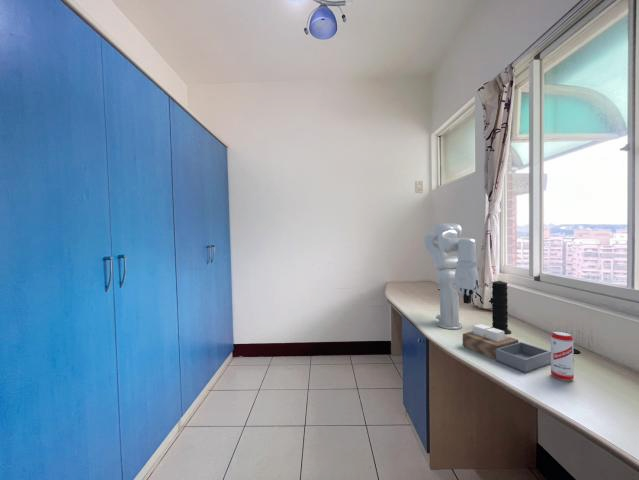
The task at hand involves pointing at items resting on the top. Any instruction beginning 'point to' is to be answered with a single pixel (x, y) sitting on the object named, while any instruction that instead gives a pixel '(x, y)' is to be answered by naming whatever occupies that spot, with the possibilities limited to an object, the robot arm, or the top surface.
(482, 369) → the top surface
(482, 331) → the tile rear
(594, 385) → the top surface
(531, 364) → the tray
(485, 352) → the wooden plinth
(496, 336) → the tile front
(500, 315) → the handle grip
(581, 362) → the top surface
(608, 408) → the top surface
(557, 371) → the beer can
